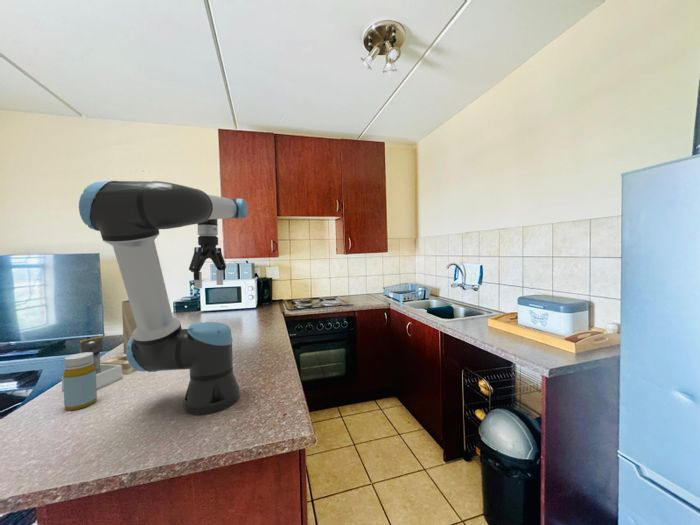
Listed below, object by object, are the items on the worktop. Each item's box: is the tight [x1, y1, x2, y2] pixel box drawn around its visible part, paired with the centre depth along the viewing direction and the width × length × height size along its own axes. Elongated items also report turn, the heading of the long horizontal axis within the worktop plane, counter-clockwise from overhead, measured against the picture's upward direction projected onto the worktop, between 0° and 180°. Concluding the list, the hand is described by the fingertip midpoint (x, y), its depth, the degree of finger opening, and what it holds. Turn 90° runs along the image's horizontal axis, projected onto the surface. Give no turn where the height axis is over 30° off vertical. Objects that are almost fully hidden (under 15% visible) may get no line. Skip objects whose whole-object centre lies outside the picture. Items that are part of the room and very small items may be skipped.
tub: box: [61, 364, 123, 392], centre depth 97 cm, size 11×11×5 cm
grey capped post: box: [79, 336, 104, 374], centre depth 97 cm, size 6×6×16 cm
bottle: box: [62, 352, 98, 411], centre depth 83 cm, size 7×7×15 cm
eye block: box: [100, 353, 137, 375], centre depth 112 cm, size 12×12×4 cm
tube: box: [121, 299, 137, 355], centre depth 128 cm, size 10×10×25 cm
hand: (209, 286), depth 117 cm, fingers open, 13 cm apart
